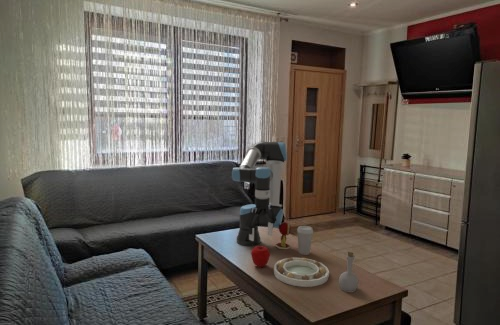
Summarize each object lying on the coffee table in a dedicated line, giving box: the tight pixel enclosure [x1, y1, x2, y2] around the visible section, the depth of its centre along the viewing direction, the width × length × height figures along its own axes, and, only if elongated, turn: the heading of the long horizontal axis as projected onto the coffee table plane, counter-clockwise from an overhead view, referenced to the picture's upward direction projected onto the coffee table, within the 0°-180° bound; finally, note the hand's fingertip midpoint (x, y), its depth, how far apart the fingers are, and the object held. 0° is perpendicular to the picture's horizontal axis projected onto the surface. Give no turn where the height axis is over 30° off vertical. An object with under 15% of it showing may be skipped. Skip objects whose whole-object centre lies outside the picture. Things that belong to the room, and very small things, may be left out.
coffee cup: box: [296, 225, 314, 256], centre depth 202 cm, size 10×10×15 cm
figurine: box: [274, 222, 292, 250], centre depth 210 cm, size 9×10×15 cm
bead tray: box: [273, 257, 330, 288], centre depth 174 cm, size 27×27×4 cm
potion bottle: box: [338, 251, 359, 293], centre depth 159 cm, size 9×9×18 cm
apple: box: [250, 245, 271, 268], centre depth 182 cm, size 10×10×11 cm
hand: (261, 237), depth 181 cm, fingers open, 13 cm apart
